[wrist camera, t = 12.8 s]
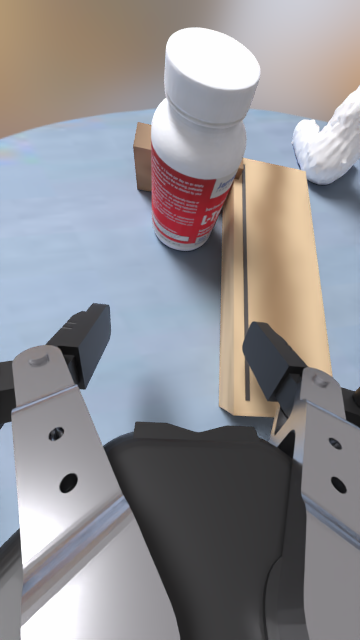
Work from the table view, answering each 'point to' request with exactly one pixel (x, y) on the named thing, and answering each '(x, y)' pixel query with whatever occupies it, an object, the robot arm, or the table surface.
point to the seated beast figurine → (330, 143)
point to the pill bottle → (199, 133)
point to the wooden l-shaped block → (261, 272)
